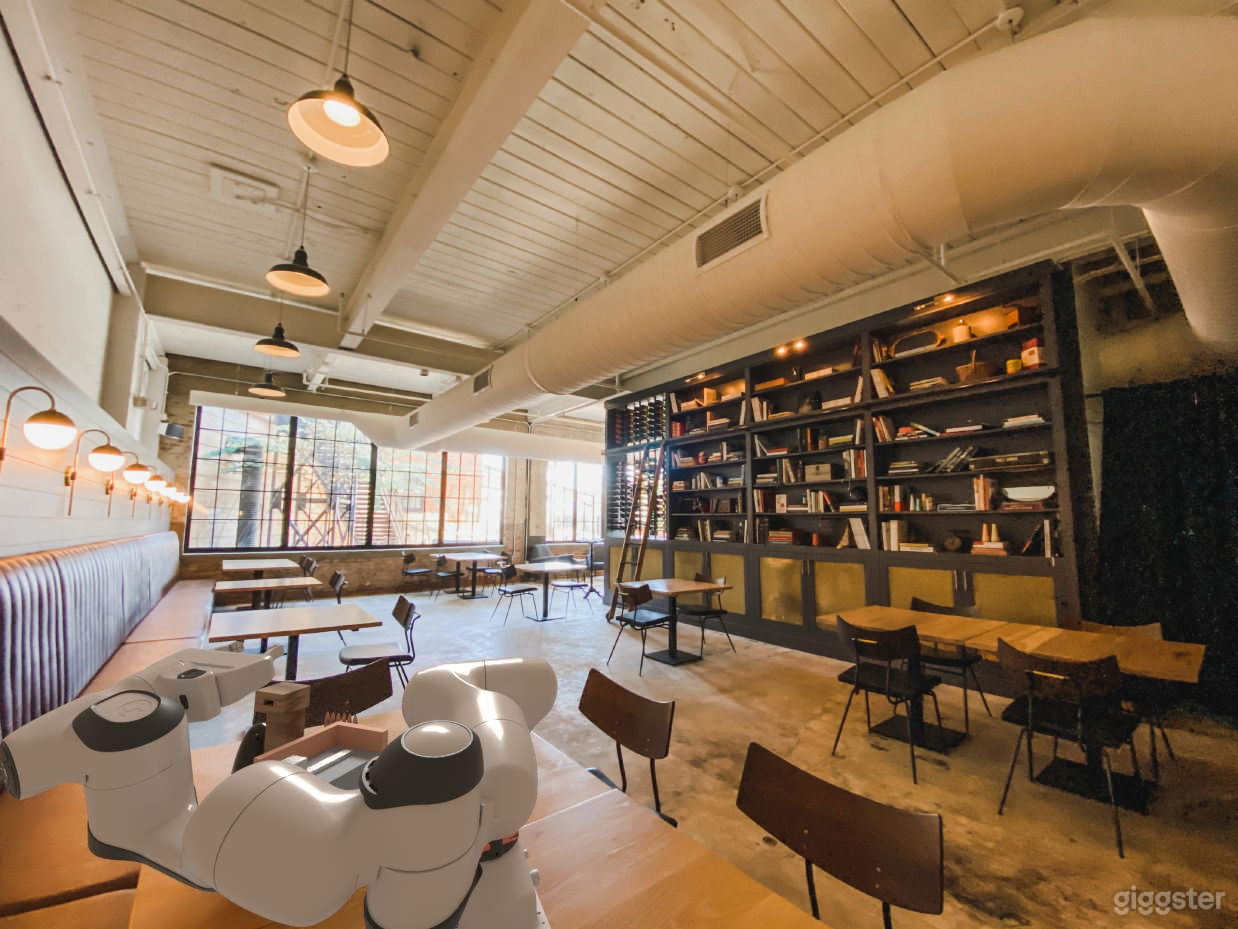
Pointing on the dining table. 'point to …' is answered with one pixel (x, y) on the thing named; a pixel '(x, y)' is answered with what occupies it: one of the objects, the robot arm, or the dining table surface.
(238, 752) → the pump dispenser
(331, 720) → the ammunition clip
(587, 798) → the dining table surface
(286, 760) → the aluminium bracket
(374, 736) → the terracotta walls
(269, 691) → the walnut post
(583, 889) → the dining table surface
